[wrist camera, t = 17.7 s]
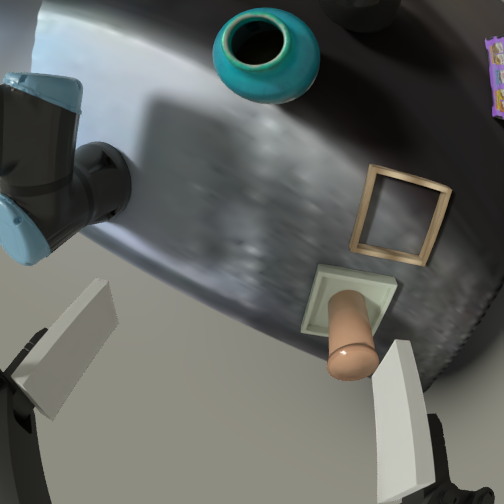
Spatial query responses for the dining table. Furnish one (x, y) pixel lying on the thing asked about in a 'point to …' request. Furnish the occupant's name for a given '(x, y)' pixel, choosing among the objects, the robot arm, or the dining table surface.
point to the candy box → (496, 73)
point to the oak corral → (433, 228)
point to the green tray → (337, 279)
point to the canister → (350, 337)
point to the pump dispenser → (361, 13)
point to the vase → (266, 56)
